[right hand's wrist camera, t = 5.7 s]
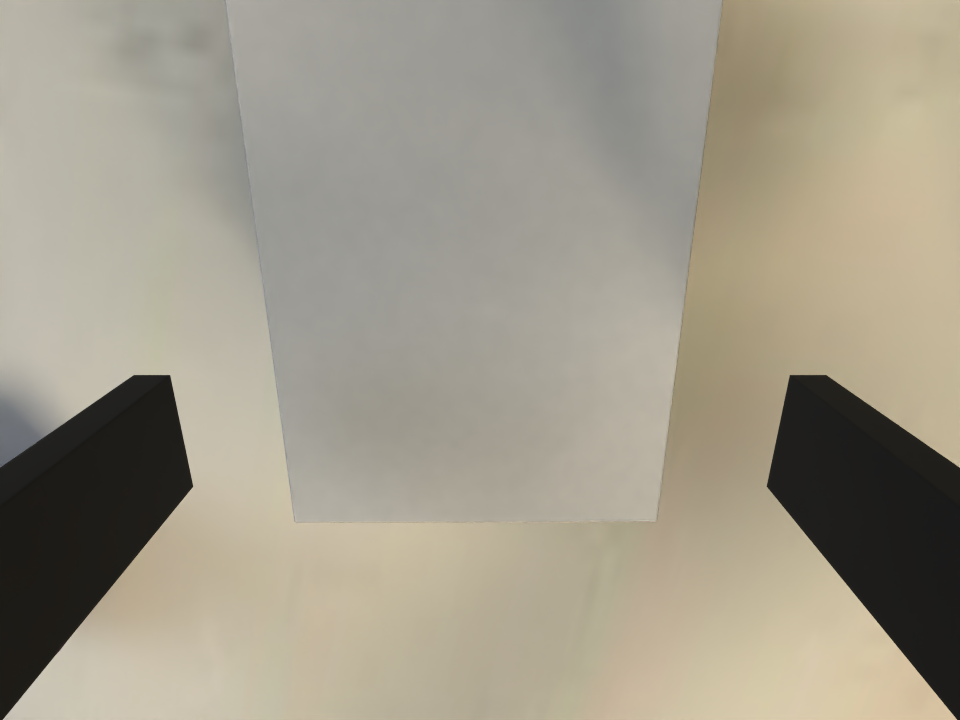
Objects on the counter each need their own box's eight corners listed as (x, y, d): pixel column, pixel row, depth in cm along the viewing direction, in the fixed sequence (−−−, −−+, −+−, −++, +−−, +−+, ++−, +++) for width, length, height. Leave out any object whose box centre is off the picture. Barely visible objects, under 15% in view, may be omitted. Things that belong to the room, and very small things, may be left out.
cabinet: (317, -44, 20) (199, -182, 12) (631, -43, 21) (747, -181, 12) (354, 397, 26) (293, 524, 18) (597, 396, 26) (657, 523, 18)
